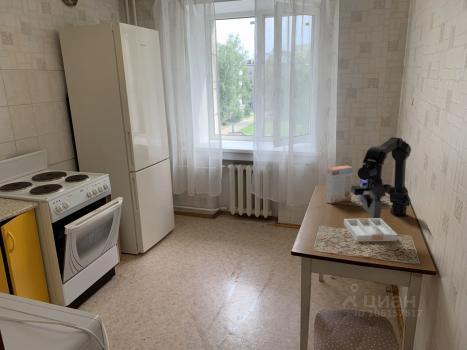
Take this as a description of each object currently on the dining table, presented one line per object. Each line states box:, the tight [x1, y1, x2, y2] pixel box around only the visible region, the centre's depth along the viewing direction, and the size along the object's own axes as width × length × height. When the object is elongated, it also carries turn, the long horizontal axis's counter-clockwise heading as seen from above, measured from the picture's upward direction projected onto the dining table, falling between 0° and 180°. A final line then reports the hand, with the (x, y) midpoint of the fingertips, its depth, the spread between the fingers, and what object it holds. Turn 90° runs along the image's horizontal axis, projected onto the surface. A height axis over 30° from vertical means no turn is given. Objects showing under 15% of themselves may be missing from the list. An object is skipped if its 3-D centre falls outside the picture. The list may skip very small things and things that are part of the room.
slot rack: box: [343, 217, 399, 243], centre depth 162 cm, size 18×19×3 cm
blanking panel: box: [361, 192, 383, 218], centre depth 158 cm, size 3×14×8 cm, turn 0°
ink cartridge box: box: [358, 179, 373, 203], centre depth 202 cm, size 10×6×14 cm, turn 88°
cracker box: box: [325, 164, 354, 204], centre depth 201 cm, size 14×6×21 cm, turn 108°
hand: (371, 207), depth 159 cm, fingers closed on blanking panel, 3 cm apart
